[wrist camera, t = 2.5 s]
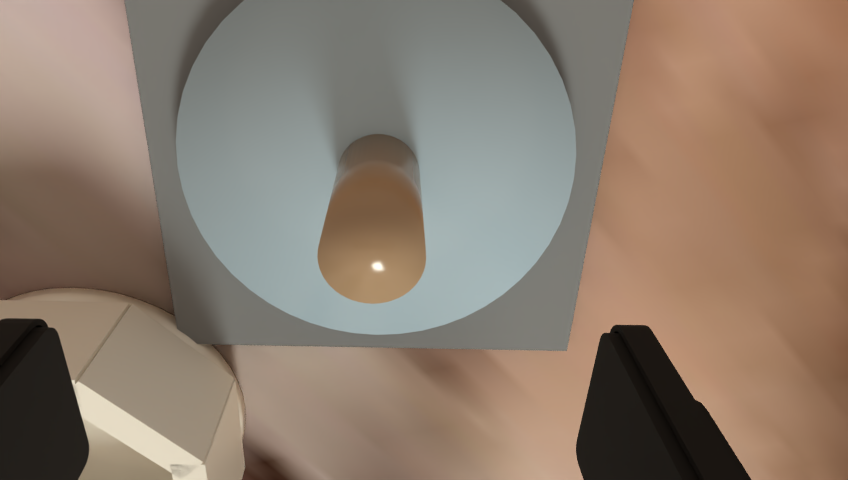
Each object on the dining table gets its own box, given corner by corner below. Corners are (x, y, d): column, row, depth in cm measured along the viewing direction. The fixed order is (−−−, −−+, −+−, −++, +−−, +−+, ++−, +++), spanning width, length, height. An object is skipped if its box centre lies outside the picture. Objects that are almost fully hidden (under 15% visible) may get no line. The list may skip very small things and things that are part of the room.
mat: (641, -75, 19) (648, -75, 19) (563, 342, 27) (566, 350, 26) (116, -105, 18) (107, -106, 18) (183, 335, 26) (179, 343, 25)
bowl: (233, 291, 25) (192, 381, 20) (255, 505, 31) (228, 616, 26) (-90, 283, 24) (-213, 375, 19) (-6, 504, 30) (-85, 618, 25)
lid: (601, -35, 19) (693, -14, 13) (543, 325, 26) (588, 452, 19) (154, -56, 19) (36, -43, 13) (207, 319, 25) (145, 449, 19)
